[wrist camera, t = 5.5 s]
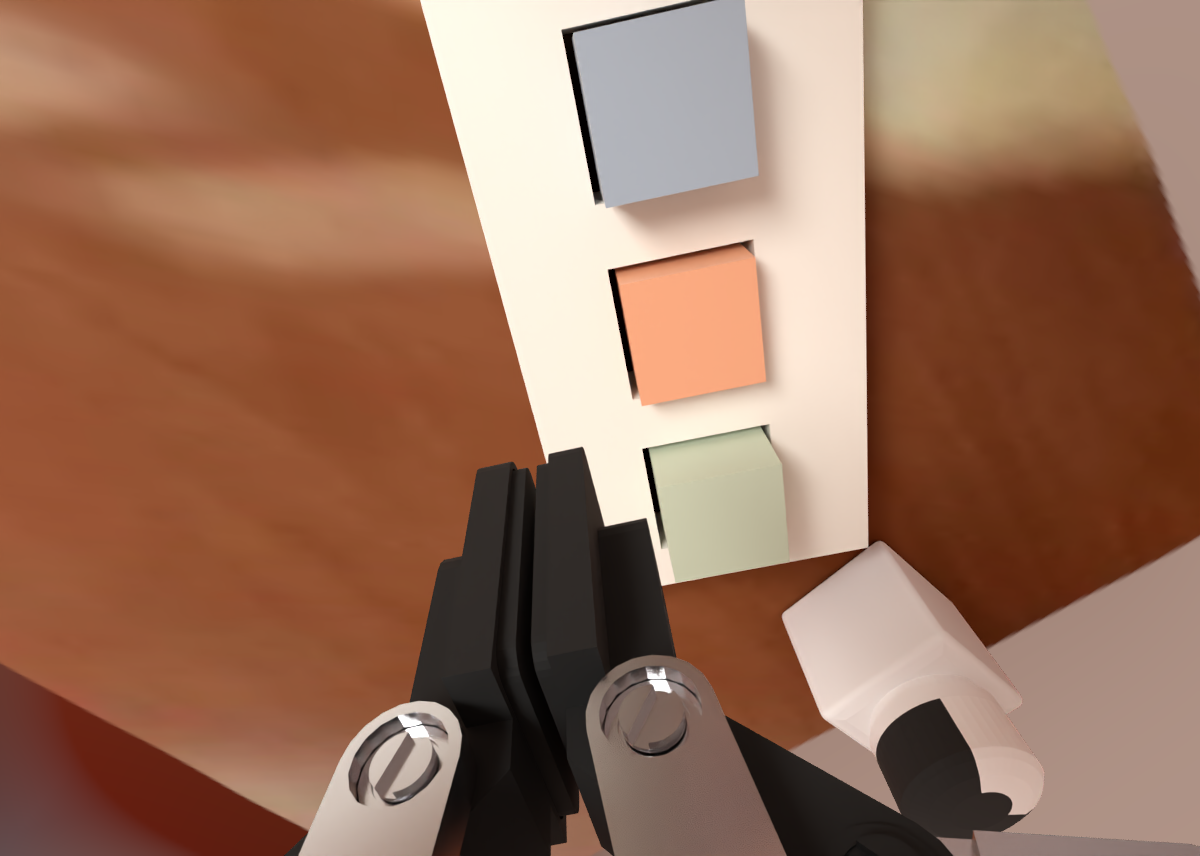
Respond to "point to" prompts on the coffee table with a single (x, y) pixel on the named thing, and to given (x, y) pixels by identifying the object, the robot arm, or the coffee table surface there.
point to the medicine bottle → (916, 695)
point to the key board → (678, 250)
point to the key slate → (669, 101)
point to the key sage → (721, 503)
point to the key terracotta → (693, 323)
